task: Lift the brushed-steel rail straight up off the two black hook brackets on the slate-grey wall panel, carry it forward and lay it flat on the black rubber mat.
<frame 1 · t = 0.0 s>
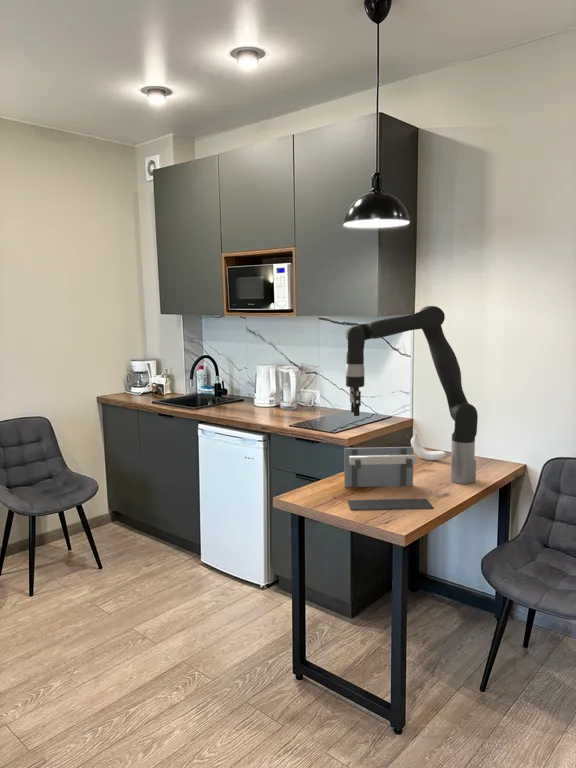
hand: (355, 414, 236), 29 cm above the table, tool pointing down, fingers open, 8 cm apart
rail: (382, 463, 224), point 12 cm above the table, touching rail stand
mat: (389, 505, 212), on the table
banana: (428, 460, 275), on the table
rail stand: (382, 493, 226), on the table
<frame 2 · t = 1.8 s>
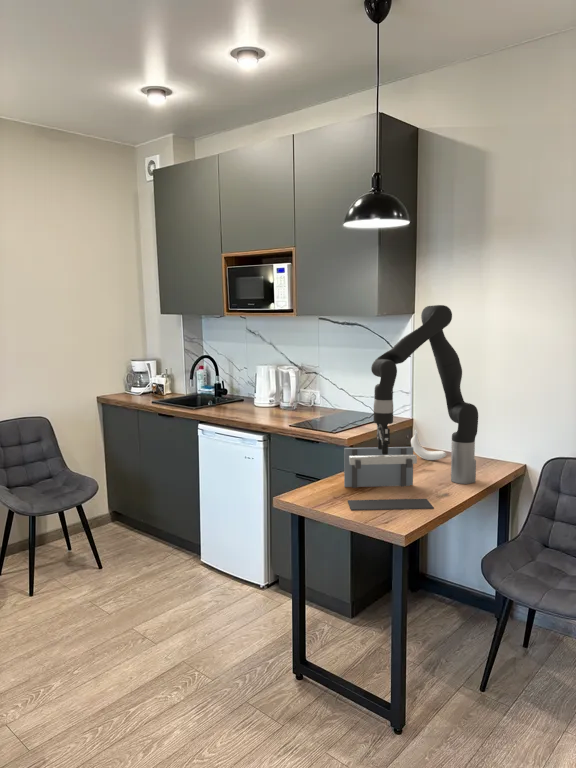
hand: (382, 451, 224), 17 cm above the table, tool pointing down, fingers open, 8 cm apart
nothing on the table moved.
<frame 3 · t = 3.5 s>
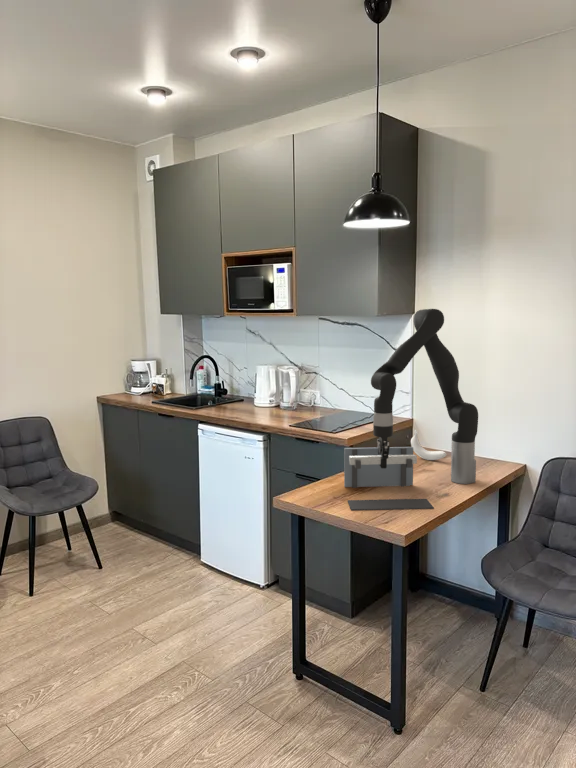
hand: (382, 466, 224), 11 cm above the table, tool pointing down, fingers closed on rail, 2 cm apart
rail: (382, 463, 224), point 12 cm above the table, touching gripper, rail stand
everything else where it was.
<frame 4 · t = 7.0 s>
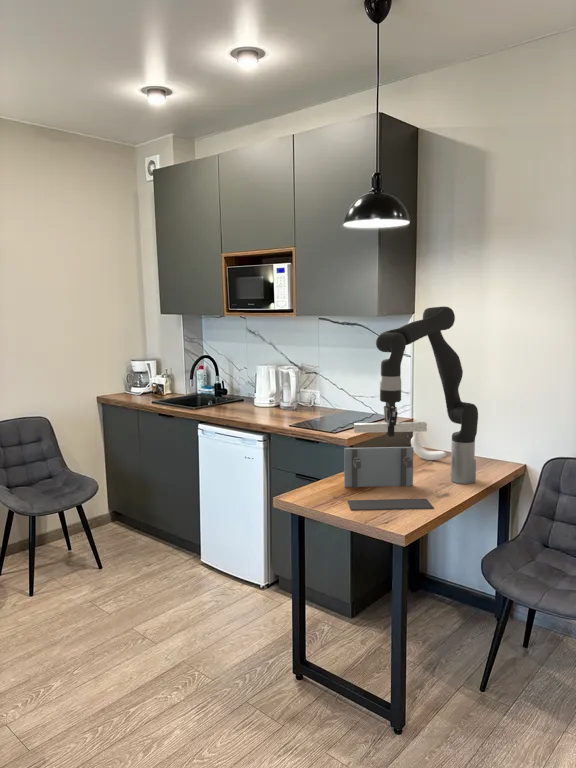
hand: (390, 435, 209), 26 cm above the table, tool pointing down, fingers closed on rail, 2 cm apart
rail: (390, 431, 208), point 28 cm above the table, touching gripper
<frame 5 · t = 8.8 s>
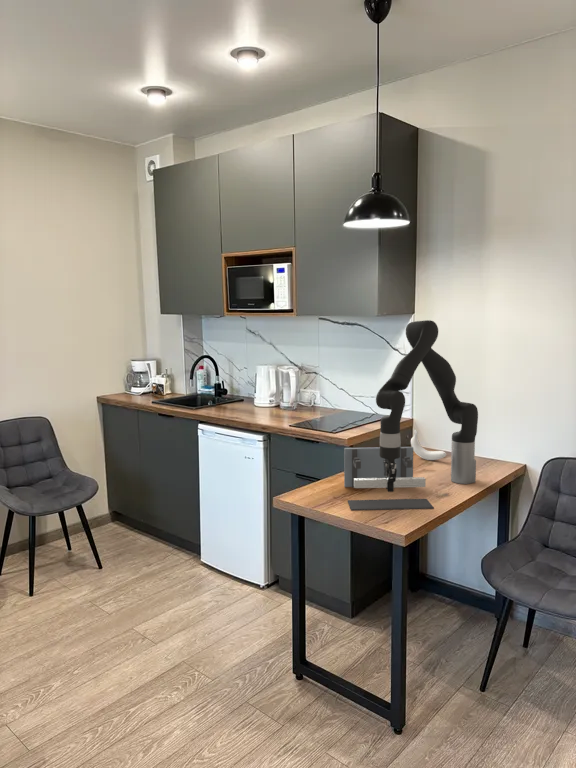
hand: (389, 490, 211), 6 cm above the table, tool pointing down, fingers closed on rail, 2 cm apart
rail: (389, 486, 211), point 7 cm above the table, touching gripper
when the fingers open (1 cm above the table, at t = 10.5 s): rail drops 2 cm, resting on mat.
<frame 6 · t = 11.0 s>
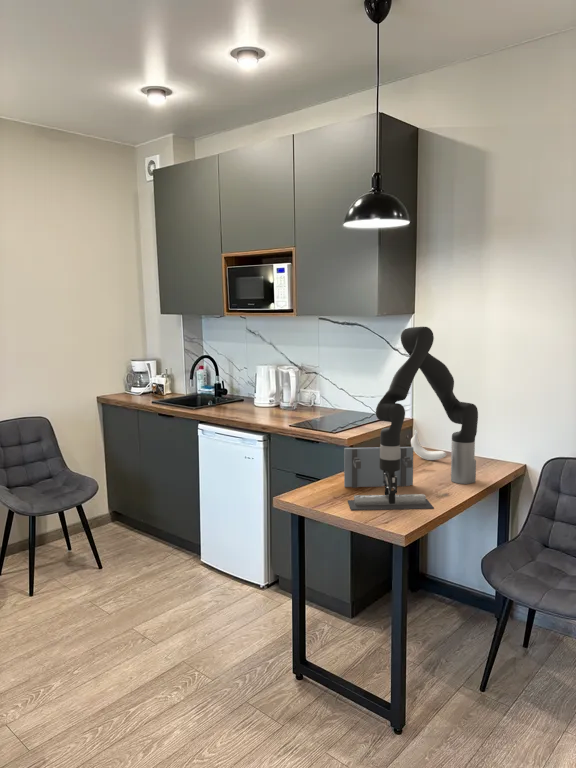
hand: (389, 499, 211), 2 cm above the table, tool pointing down, fingers open, 7 cm apart
rail: (389, 503, 212), resting on mat
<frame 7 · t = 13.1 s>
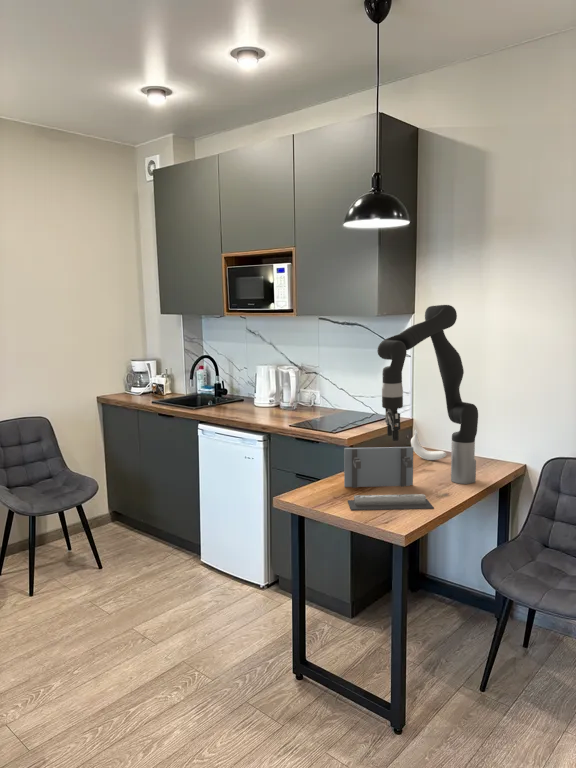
hand: (392, 437, 213), 24 cm above the table, tool pointing down, fingers open, 8 cm apart
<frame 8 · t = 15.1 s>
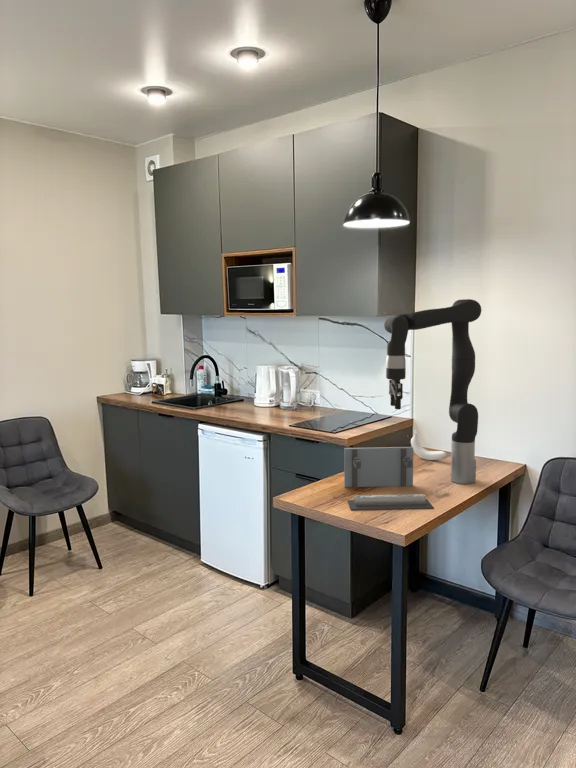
hand: (395, 407, 228), 33 cm above the table, tool pointing down, fingers open, 8 cm apart
at the end: rail inside the target area on the mat (0.0 cm from its centre), point 0.5 cm above the mat's base; rail touching mat; the gripper is holding nothing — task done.
